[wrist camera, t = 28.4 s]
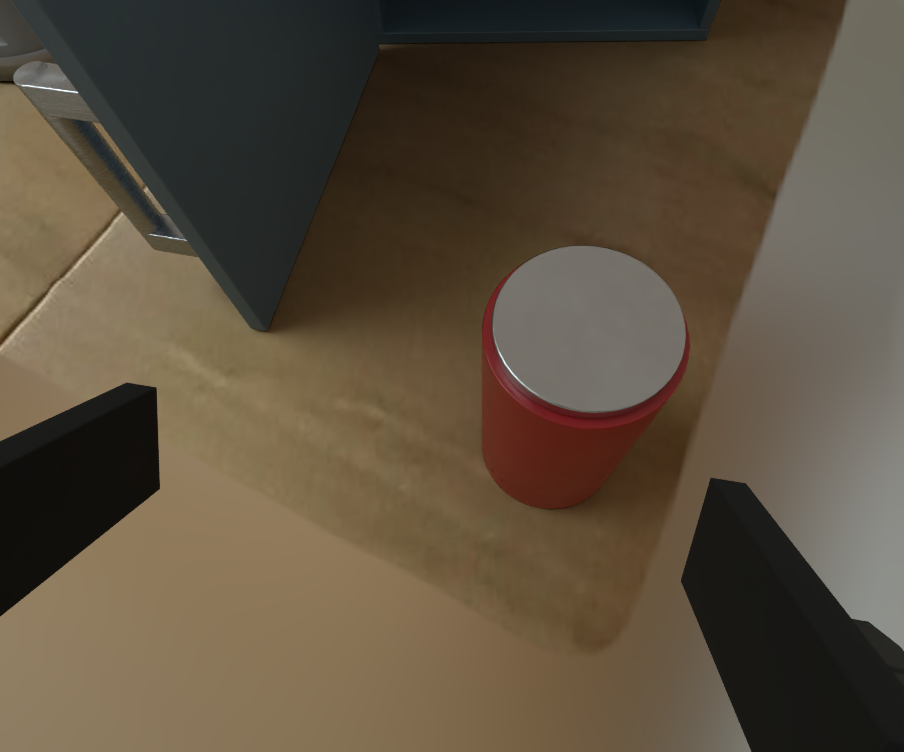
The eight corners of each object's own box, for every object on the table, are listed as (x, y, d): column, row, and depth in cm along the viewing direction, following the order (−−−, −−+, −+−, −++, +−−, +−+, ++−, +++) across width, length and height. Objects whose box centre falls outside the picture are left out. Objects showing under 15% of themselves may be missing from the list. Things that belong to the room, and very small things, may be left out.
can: (468, 398, 30) (461, 259, 19) (589, 371, 31) (651, 219, 20) (499, 523, 28) (512, 444, 17) (632, 492, 28) (732, 394, 17)
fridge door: (166, 313, 33) (-184, -52, 16) (299, 40, 43) (172, -379, 25) (267, 332, 32) (16, -31, 15) (380, 49, 42) (307, -377, 24)
